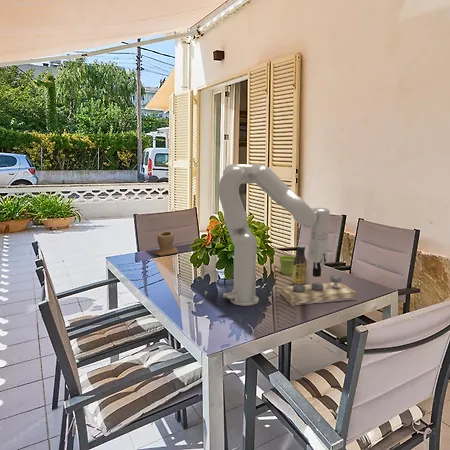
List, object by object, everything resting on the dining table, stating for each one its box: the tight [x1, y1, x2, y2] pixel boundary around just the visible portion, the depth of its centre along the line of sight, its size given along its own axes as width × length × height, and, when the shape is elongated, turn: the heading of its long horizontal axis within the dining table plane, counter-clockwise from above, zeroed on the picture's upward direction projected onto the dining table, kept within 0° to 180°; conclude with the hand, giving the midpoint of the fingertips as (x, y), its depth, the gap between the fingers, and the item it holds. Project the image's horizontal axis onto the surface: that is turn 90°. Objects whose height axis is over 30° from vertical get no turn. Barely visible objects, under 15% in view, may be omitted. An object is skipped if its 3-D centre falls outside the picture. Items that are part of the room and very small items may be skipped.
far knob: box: [329, 274, 343, 289], centre depth 184 cm, size 5×5×6 cm
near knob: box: [292, 284, 305, 293], centre depth 180 cm, size 5×5×6 cm
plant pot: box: [278, 255, 296, 276], centre depth 219 cm, size 9×9×9 cm
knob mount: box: [279, 282, 357, 304], centre depth 182 cm, size 30×14×4 cm, turn 103°
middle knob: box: [311, 282, 324, 291], centre depth 182 cm, size 5×5×6 cm
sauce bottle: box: [291, 245, 307, 286], centre depth 198 cm, size 6×6×20 cm
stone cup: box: [154, 230, 179, 257], centre depth 259 cm, size 15×12×15 cm
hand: (316, 276), depth 181 cm, fingers closed
